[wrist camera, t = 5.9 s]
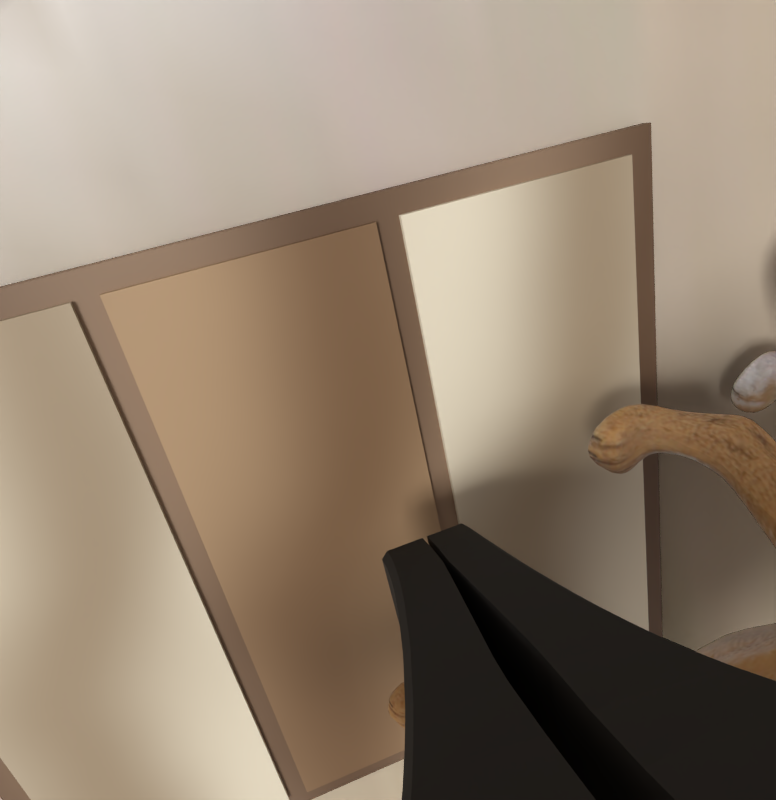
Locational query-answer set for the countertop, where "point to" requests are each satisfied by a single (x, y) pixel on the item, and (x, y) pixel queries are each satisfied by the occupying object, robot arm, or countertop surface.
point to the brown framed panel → (308, 466)
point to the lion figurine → (719, 451)
